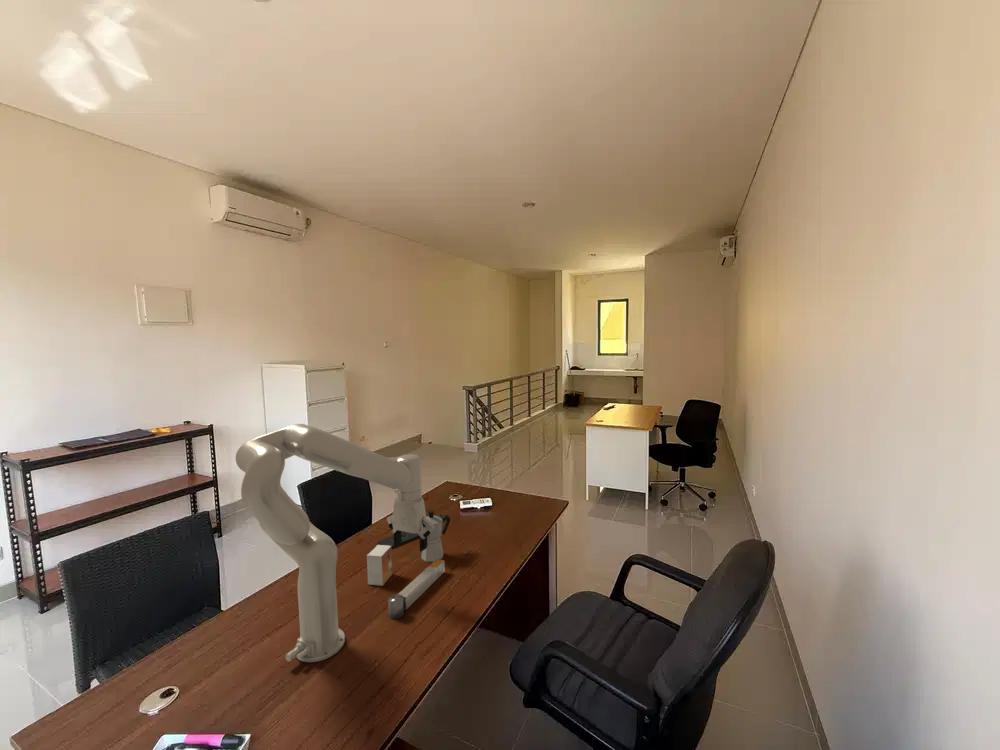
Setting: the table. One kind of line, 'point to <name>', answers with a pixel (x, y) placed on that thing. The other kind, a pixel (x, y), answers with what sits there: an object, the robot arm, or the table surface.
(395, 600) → the tongs hinge and fixed arm
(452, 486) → the table surface
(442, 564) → the tongs loose arm
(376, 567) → the small box
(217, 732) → the table surface
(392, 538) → the smart home device
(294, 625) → the table surface
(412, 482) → the robot arm
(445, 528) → the coffee maker
